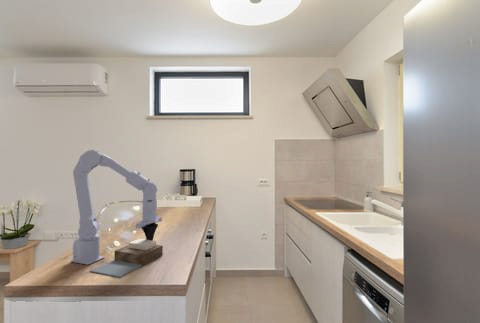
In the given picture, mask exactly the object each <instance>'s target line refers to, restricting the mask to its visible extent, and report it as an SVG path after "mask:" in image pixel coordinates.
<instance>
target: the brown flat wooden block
mask: <svg viewBox="0 0 480 323" xmlns="http://www.w3.org/2000/svg"><path fill="white" fill-rule="evenodd" d="M163 248H164V247H163V245H162V244H156V246H154V247H152V248H150V249H148V250H142V249H135V248H129V244H128V245H125V246H123V247H120V248H118V249H115V250H114V252H113V254H114V260H117V261H123V262H129V263H135V264H141V265H142V266H141V267H143V266H145V265H147V264H149V263H150V262H153V261H154V260H156V259H158V258H160V257H161V256H163V254H164V253H163Z"/></svg>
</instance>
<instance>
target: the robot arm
mask: <svg viewBox="0 0 480 323" xmlns="http://www.w3.org/2000/svg"><path fill="white" fill-rule="evenodd" d="M98 166H100V167H105V168H106V167H107V168H110V169H111V170H112V171H115V172H116V173H117V174H119V175H121V176H122V177H124V178H125V181H126V182H125V183H126V184H129V185H131V186H132V187H133V188H135V189H137V190H138V191H142V194H143V196H142V220H140V221H139V222H136V223H135V229H141V230H142V231H143V234H144V233H145V234H144V236H145V240H153V241H154V236H155V233H156V231H157V228H158V227H159V224H158V222H162V221H163V217H162V216H157V192H158V187H157V185H156V184H155V183H154V182H152V180H150V179H149V178H147V177H145V176H144V175H142V173H141V172H139V171H136V170H132V171H130V170H129V169H127V168H126V167H124V166H123V165H121V163H119V162H118V161H116V160H115V159H113V158H112V157H110V156H108V155H106V154H104V153H102V152H100V151H98V150H94V149H90V150H86V151H85V152H84V153H83V154H81V155H80V156H79V158H78V162H77V163H76V165H75V166H74V169H73V170H72V176H73V181H74V186H75V194H76V200H77V205H78V206H77V207H78V210H79V212H78V213H79V228H78V231H77V234H78V237H77V238H76V239H75V240H74V241H73V245H72V259H71V260H70V262H71V263H77V264H80V265H81V264H83V265H87V266H88V265H90V264H93V263H96V262H97V261H101V260H103V259H105V258H106V257H105V256H104V255H100V252H101V251H100V244H101V243H100V240H101V239H100V234H99V233H98V231H99V230H100V227H101V226H100V222H99V221H98V220H97V217H96V215H95V212H94V206H93V205H94V204H93V199H92V193H91V188H90V186H91V185H90V180H89V179H90V178H89V174H90V173H91V172H92V171H93V169H94V168H97V167H98Z"/></svg>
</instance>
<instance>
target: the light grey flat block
mask: <svg viewBox="0 0 480 323" xmlns="http://www.w3.org/2000/svg"><path fill="white" fill-rule="evenodd" d="M136 239H137V240H136ZM136 239H135V240H133V241H129V242H130V243H128V245H129V248H135V249H142V250H148V249H150V248H152V247H154V246H156V245H157V240H154V239H153V240H146V238H145V239H144V238H136Z"/></svg>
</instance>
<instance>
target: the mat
mask: <svg viewBox="0 0 480 323" xmlns="http://www.w3.org/2000/svg"><path fill="white" fill-rule="evenodd" d="M141 267H143V266H142V265H141V264H135V263H129V262H123V261H117V260H115V259H113V260H111V261H109V262H106V263H104V264H102V265H100V266H97V267H95V268H93V269H91V270H89V272H90V273H95V274H99V275H100V274H101V275H106V276H110V277H115V278H122V277H125V276H126V275H128V274H130V273H132V272H134V271H136V270H138V269H139V268H141Z"/></svg>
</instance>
